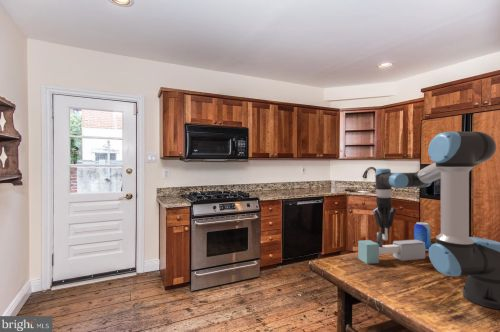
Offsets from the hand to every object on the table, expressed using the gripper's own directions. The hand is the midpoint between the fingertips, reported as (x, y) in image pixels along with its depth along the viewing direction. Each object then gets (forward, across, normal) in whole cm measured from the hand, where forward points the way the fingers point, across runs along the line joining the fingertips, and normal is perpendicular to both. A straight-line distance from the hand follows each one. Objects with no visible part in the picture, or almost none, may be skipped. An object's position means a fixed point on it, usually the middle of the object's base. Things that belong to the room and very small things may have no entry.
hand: (385, 239), depth 150 cm
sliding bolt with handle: (+7, +1, 0) cm, 7 cm away
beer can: (+12, -33, -11) cm, 37 cm away
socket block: (+11, +10, 0) cm, 15 cm away
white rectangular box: (+11, -14, 0) cm, 18 cm away
